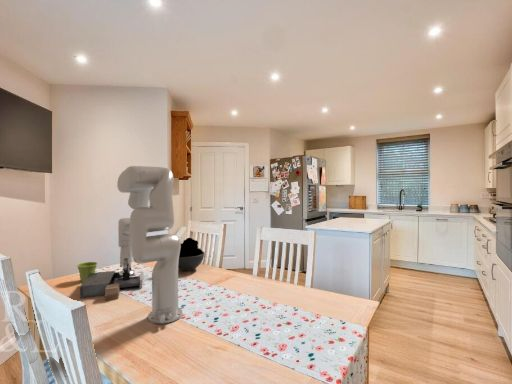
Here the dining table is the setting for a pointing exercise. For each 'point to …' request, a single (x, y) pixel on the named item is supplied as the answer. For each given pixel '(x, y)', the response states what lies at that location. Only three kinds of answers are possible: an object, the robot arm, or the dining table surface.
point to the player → (97, 283)
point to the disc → (129, 271)
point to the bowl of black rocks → (190, 255)
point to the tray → (130, 281)
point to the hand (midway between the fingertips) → (127, 277)
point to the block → (112, 292)
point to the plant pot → (86, 269)
